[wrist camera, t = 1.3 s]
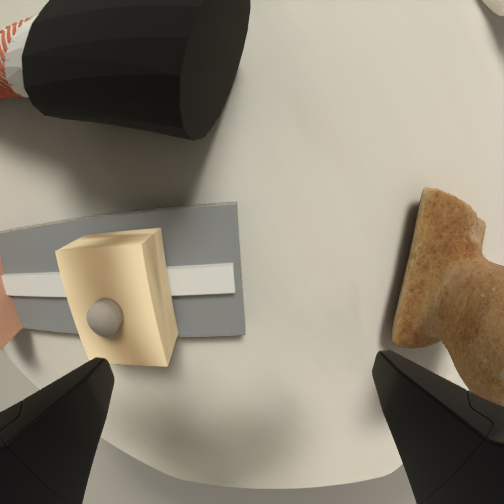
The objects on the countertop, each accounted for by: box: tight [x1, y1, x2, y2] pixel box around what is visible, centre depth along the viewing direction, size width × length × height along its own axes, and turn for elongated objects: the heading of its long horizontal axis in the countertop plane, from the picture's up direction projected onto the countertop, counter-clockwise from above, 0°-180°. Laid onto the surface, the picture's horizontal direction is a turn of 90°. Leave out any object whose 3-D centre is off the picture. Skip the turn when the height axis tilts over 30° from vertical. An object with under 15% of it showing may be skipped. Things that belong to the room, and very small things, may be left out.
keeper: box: [55, 228, 178, 367], centre depth 16 cm, size 6×8×5 cm
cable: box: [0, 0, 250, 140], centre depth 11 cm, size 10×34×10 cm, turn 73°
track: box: [0, 202, 246, 350], centre depth 18 cm, size 26×10×6 cm, turn 93°
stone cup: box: [392, 188, 504, 406], centre depth 15 cm, size 15×12×15 cm
